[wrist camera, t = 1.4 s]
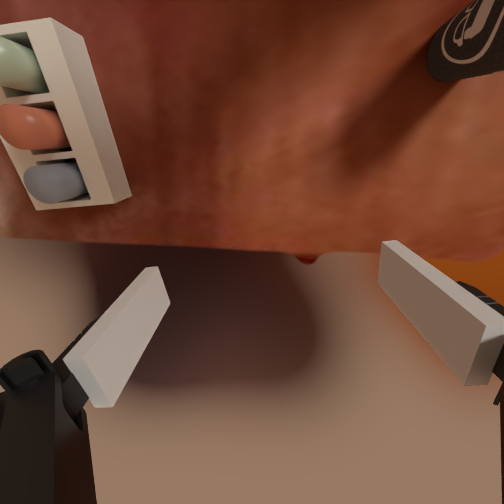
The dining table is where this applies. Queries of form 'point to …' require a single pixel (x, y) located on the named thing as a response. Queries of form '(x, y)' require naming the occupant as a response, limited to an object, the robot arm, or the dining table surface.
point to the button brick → (32, 128)
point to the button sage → (20, 68)
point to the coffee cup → (469, 43)
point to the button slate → (55, 182)
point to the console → (68, 113)
